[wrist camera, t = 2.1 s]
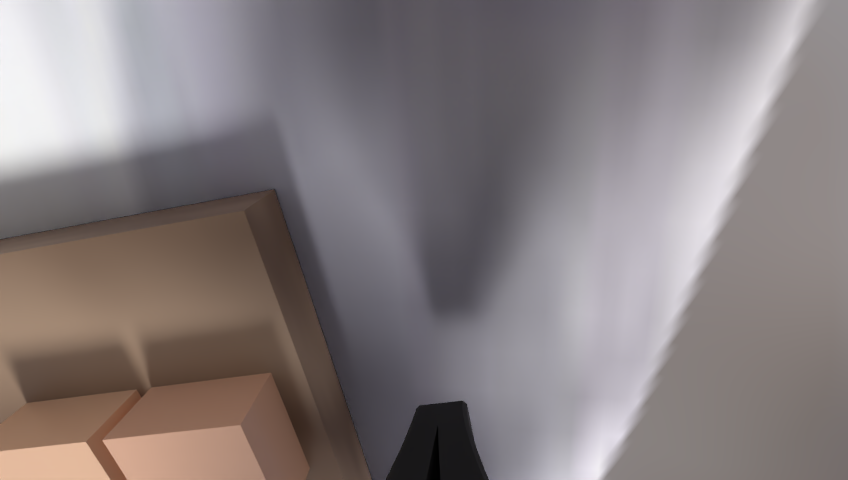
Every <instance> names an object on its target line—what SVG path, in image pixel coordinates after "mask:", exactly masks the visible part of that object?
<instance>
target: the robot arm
mask: <svg viewBox="0 0 848 480" xmlns="http://www.w3.org/2000/svg"><path fill="white" fill-rule="evenodd" d="M386 480H489V479H488V477H487V474H486V472H485V470H484V467H483V464H482V462H481V459H480V457H479V454H478V451H477V449H476V446H475V442H474V437H473V432H472V427H471V422H470V417H469V412H468V407H467V404H466V403H465V402H463V401H456V402H447V403H438V404H429V405H420V406H419V407H418V408H417V409H416V412H415V415H414V417H413V420H412V423H411V425H410V428H409V430H408V433H407V435H406V437H405V440H404V442H403V444H402V447H401V449H400V451H399V453H398V455H397V457H396V460H395V462H394V464H393V466H392V468H391V470H390V472H389V474H388V476H387V478H386Z"/></svg>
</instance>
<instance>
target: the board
mask: <svg viewBox="0 0 848 480" xmlns="http://www.w3.org/2000/svg"><path fill="white" fill-rule="evenodd" d="M264 373H271V374H272V376H273V379H274V381H275V384H276V386H277V389H278V391H279V393H280V396H281V398H282V401H283V403H284V406H285V408H286V411H287V413H288V416H289V418H290V420H291V423H292V425H293V428H294V430H295V433H296V435H297V438H298V440H299V443H300V445H301V448H302V450H303V452H304V455H305V457H306V460H307V462H308V465H309V467H310V469H309V472H308V475H307V478H306V480H372V478H371V475H370V472H369V469H368V466H367V463H366V460H365V457H364V454H363V451H362V448H361V445H360V442H359V439H358V436H357V433H356V431H355V428H354V425H353V422H352V419H351V416H350V413H349V410H348V407H347V404H346V401H345V398H344V395H343V392H342V389H341V386H340V383H339V380H338V377H337V374H336V371H335V368H334V365H333V362H332V359H331V356H330V353H329V350H328V347H327V344H326V341H325V338H324V335H323V332H322V329H321V326H320V323H319V321H318V318H317V315H316V312H315V309H314V306H313V303H312V300H311V297H310V294H309V291H308V288H307V285H306V282H305V279H304V276H303V273H302V270H301V267H300V264H299V261H298V258H297V255H296V252H295V249H294V246H293V243H292V240H291V237H290V234H289V231H288V228H287V225H286V222H285V219H284V216H283V214H282V211H281V208H280V205H279V202H278V199H277V196H276V193H275V190H274V189H273V190H268V191H262V192H257V193H251V194H246V195H240V196H235V197H230V198H224V199H219V200H213V201H208V202H202V203H197V204H191V205H186V206H180V207H175V208H170V209H164V210H159V211H153V212H148V213H142V214H137V215H131V216H126V217H120V218H115V219H109V220H104V221H99V222H93V223H88V224H82V225H77V226H71V227H66V228H60V229H55V230H49V231H44V232H39V233H33V234H28V235H22V236H17V237H11V238H6V239H0V424H1V423H2V422H3V421H5V420H6V419H7V418H9V417H10V416H11V415H12V414H14V413H15V412H16V411H17V410H19V409H20V408H21V407H22V406H24V405H25V404H26V403H31V402H39V401H47V400H55V399H63V398H71V397H79V396H87V395H95V394H103V393H111V392H119V391H127V390H135V389H137V391H138V393H139V394H140V396H141V398H142V397H143V396H144V395H145V394H146V392H147V391H148V390H149V389H150V388H151V387H159V386H167V385H176V384H184V383H192V382H200V381H208V380H216V379H224V378H232V377H240V376H248V375H256V374H264Z"/></svg>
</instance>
